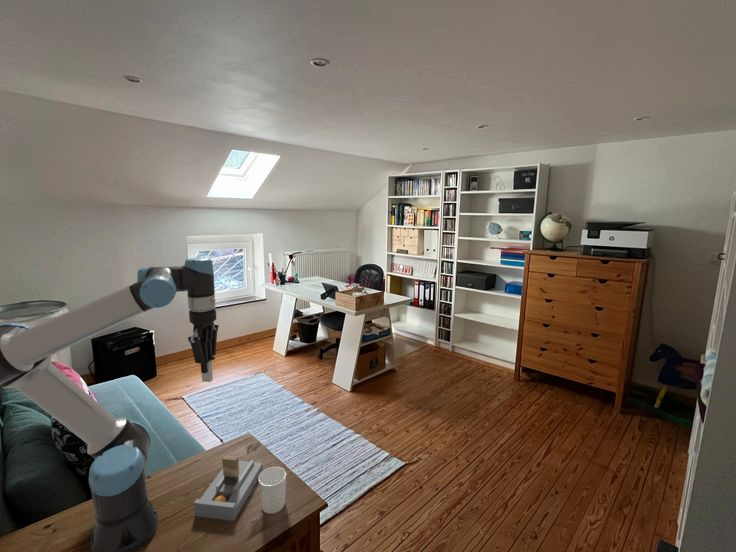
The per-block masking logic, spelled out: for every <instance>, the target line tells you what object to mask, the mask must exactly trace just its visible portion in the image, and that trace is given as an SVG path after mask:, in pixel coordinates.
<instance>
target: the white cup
mask: <svg viewBox="0 0 736 552" xmlns="http://www.w3.org/2000/svg"><path fill="white" fill-rule="evenodd" d="M286 480H287V473H286V470H285V469H284V468H282V467H280V466H270V467H267V468H265V469H263V471H262V472H261V473H260V475H259V478H258V480H257V481H258V488H259V489H258V490H259V496H260V501H261V502H260V503H261V509H262V511H263V512H264V513H266V514H267V515H268V514H269V515H270V514H271V515H272V514H276V513H279V512H280V511H281V510H282V509H284V508H285V507H284V506H285V505H286V494H287V493H286V491H287V490H286V489H287V485H286V484H287V481H286Z"/></svg>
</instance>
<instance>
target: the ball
mask: <svg viewBox="0 0 736 552" xmlns="http://www.w3.org/2000/svg"><path fill="white" fill-rule="evenodd" d="M215 501H221V502H226V498H225V497H224V496H218V497H217V498H216V499H215Z"/></svg>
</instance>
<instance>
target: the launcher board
mask: <svg viewBox="0 0 736 552" xmlns="http://www.w3.org/2000/svg"><path fill="white" fill-rule="evenodd" d="M238 462H239V475H238V479H239V480H238V482H237V483H236V485H232V484H225V483H224V476H223V468H222V469H221V470H220V471H219V472H218V474H217V475H216V477H215V478H214V479H213V481H212V482H211V483H210V485H209V487H207V489H206V490H205V492H204V493H203V494H202V496H201V497H200V498H196V499H195V500H194V501H193V508H194V509H193V511H194V517H199V518H207V519H215V520H222V521H223V520H224V521H229V522H230V521H232V522H235V520H236V518H237V517H238V515H239V513H240V511H241V510H242V508H243V506H244V504H245V503H246V501H247V499H248V498H249V496H250V494H251V492H252V490H253V489H254V487H255V486H256V483H257V482H258V481H259V480H258V478H259V475H260V473H261V472H262V471H263V470H264V467H263V463H262V462H257V461H256V462H255V460H254V459H251V460H250V461H246V460H238ZM218 496H224V497H225V498H226V502H221V501H215V499H216V498H217V497H218Z"/></svg>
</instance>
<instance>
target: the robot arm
mask: <svg viewBox="0 0 736 552" xmlns="http://www.w3.org/2000/svg"><path fill="white" fill-rule="evenodd" d="M214 273H215V272H214V265H213V260H212V259H210V257H209V258H208V257H190V258H187V259H185V261H184V265H179V266H178V265H177V266H176V265H175V266H150V267H142V268H139V269H138V270H137V282H134V283H132V284H130V285H127V286H125V287H122V288H121V289H119V290H116V291H114V292H113V291H112V292H111V293H108V294H107V295H105V296H102V297H100V298H98V299H95V300H92V301H90V302H88V303H86V304H83V305H81V306H78V307H77V308H74V309H71V310H70V311H68V312H65V313H62V314H60V315H57V316H55V317H53V318H50V319H48V320H46V321H44V322H42V323H40V324H37V325H35V326H33V327H32V326H31V325H29V324H28V325H27V324H25V323H22V322H21V323H20V322H4V323H0V387H1V388H2V389H17V390H18V391H19V392H20V393H22V394H23V395H24V396H26V397H27V398H28V399H29V400H30V401H32V402H33V403H34V404H35V405H37V406H38V407H39V408H41V409H42V410H44V411H45V412H46V413H47V414H48V415H50V416H51V417H52V418H54V419H55V420H56V421H57V422H59V423H60V424H61V425H63V427H64V428H67V430H69V431H70V432H72V433H73V434H74V435H75V436H76V437H78V438H79V439H81V441H83V442H84V443H85V444H87V449H86V453H87V454H88V455H89V456H91V457H92V458H93V459H94V460H93V462H92V463H91V465H90V467H89V470H88V471H89V473H88V484H89V488H90V493H91V499H92V503H93V511H94V516H95V523H94V527H93V531H92V535H91V538H90V548H91V552H136V551H138V550H139V549H140V548H142V547H143V546H144V545H146V544H147V543H148V542H149V541H150V539H151V538H152V537H154V534H155V533H156V531H157V529H158V526H159V518H158V512H157V510H156V509H155V508H154V506H153V504H152V503H151V501H150V500H149V497H148V489H147V482H146V481H147V480H146V471H147V465H148V464H147V463H148V458H149V452H150V449H151V448H150V447H151V435H150V432H149V430H148V428H147V427H146V425H144V424H143V423H141V422H138V421H130V420H128V418H126V417H118V418H116V417H115V416H114V415H113V414H112V413H111V412H109V411H108V410H107V409H106V408H104V407H103V406H102V405H101V404H100V403H99V402H97V401H96V400H95V398H93V397H92V396H91V395H89V394H88V393H87V392H86V391H85V390H84V389H82V388H81V387H80V386H79V385H78V384H77V383H75V382H74V380H71V378H70V377H68V376H67V375H66V374H64V372H63V371H61V370H60V369H59V368H58V367H57V366H56V365H54V364H53V363H52V356H53V355H55V354H57V353H59V352H61V351H64V350H65V349H67V348H70V347H71V346H74V345H76V344H79V343H81V342H82V341H84V340H87V339H89V338H91V337H93V336H95V335H98V334H100V333H102V332H105V331H106V330H109V329H111V328H113V327H116V326H117V325H119V324H121V323H124V322H126V321H128V320H130V319H132V318H134V317H136V316H139V315H142V314H143V313H145V312H148V311H150V310H152V309H157V308H158V309H160V308H163V307H166V306H168V305H169V304H170V303H171V302H172V301H173V300H174V298H175V296H176V293H178V292H187V293H186V294H187V306H188V307H187V309H188V310H189V311H188V319H189V323H191V324H192V325H193V329H192V332H193V334H192V335H191V336H188V338H187V341H189V343H190V346H191V350H192V351H191V352H192V354H193V357H194V362H195V364H199V365H200V369H201V370H200V372H201V381H202V382H206V383H211V382H212V381H213V380H214V378H213V363H212V362H213V361H215V360H216V357H214V356H216V355H217V340H218V329H219V324H215V323H214V322H215V321H217V309H216V308H215V307H216V295H215V294H216V293H215V292H216V291H215V274H214Z"/></svg>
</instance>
